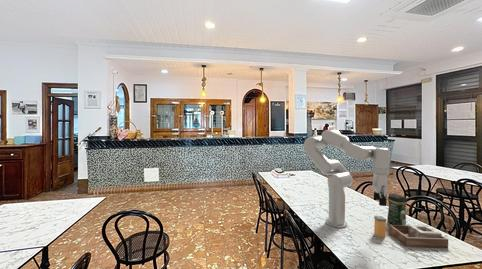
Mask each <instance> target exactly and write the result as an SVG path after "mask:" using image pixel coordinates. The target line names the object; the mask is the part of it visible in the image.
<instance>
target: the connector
mask: <svg viewBox="0 0 482 269" xmlns="http://www.w3.org/2000/svg"><path fill="white" fill-rule="evenodd" d="M373 219H374V226H373V227H374V230H373V231H374V232H373V234H374V235H375V236H376V237H378V238H386V234H387V232H386V229H387V228H386V227H387V224H386V223H387V218H385V217H384V216H381V215H374V216H373Z"/></svg>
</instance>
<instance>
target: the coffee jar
mask: <svg viewBox="0 0 482 269" xmlns="http://www.w3.org/2000/svg"><path fill="white" fill-rule="evenodd" d="M387 196H388V197H387V201H388V211H387V218H386V219H387V220H386V222H388V223H390V224H391V225H407V217H406V216H407V215H406V213H407V211H406V207H407V204H408V203H407V202H408V200H407V197H406V196H405V195H401V194H397V193H395V192H390V193H389V194H388V195H387Z"/></svg>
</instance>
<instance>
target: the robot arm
mask: <svg viewBox="0 0 482 269" xmlns="http://www.w3.org/2000/svg"><path fill="white" fill-rule="evenodd" d="M330 146H332V147H335V148H337V149H339V150H340V151H341V152H342V153H343V154H345V155H347V156H348V157H350V158H353V159H355V160H357V161H362V162H363V161H369V160H372V174H373V175H372V186H371V188H372V190H373V200H375V201H378V203H379V204H378V205H379V206H380V207H387V201H388V197H387V196H388V195H387V194H388V186H389V185H388V183H389V181H388V176H389V175H390V162H391V161H390V156H391V150H390V148H387V147H375V146H372V145H371V146H370V145H368V146H367V145H366V146H360V145H357V144H356V143H355V144H354V143H353V142H350V138H349V137H348V136H346V135H343V134H342V133H341V131H339V130H337V129H325V130H323V131H322V133H321V135H319V136H318V135H317V136H316V135H315V136H314V135H313V136H309V137H307V138H305V139H304V143H303V149H304V153H305V154H306V155H307V156H308V157H309V159H311V161H312V162H313V164H314V165H315V166H316V168H317V169H318V170H319V171H320V172H321V174H323V175H324V176H325V175H326V176H329V177H328V178H327V187H328V217H327V218H326V220H325V223H326V225H328V226H330V227H333V228H338V229H341V228H343V229H344V228H347V227H348V222H347V221H346V193H345V190H344V189H345V188H348V187H351V186H352V184H353V182H354V179H353V176H352V175H351V173H350V172H349V170H347V169H346V167H345V166H344V165H343V164H342V163H341V162H340V161H339V160H337V159H329V158H328V157H327V156H326V155H325V154H324V153H323V152H322V151H321V150H319V149H324V148H327V147H330Z"/></svg>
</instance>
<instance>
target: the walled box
mask: <svg viewBox="0 0 482 269" xmlns="http://www.w3.org/2000/svg"><path fill="white" fill-rule="evenodd" d="M388 233H389V234H390V235H391V236H392V237H394V239H396V240H398V241H399V242H400V243H401V244H403V245H404V246H405V247H408V248H432V249H433V248H435V249H436V248H437V249H441V248H442V249H448V248H449V239H448V238H447V237H445V236H443V234H442V232H440V231H438V230H436V229H435V228H432V227H431V226H430V225H426V224H425V225H424V224H406V225H394V224H388Z"/></svg>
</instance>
